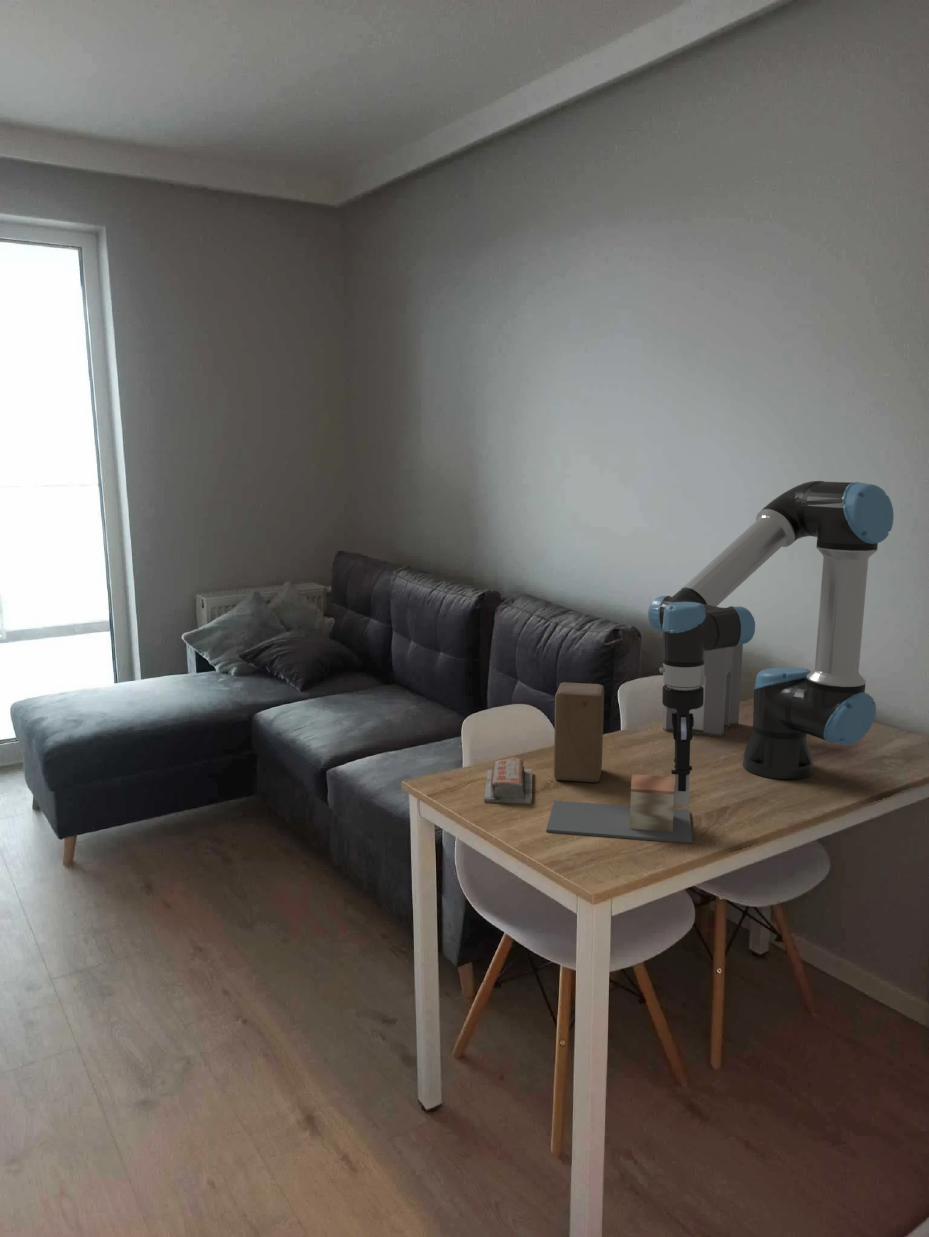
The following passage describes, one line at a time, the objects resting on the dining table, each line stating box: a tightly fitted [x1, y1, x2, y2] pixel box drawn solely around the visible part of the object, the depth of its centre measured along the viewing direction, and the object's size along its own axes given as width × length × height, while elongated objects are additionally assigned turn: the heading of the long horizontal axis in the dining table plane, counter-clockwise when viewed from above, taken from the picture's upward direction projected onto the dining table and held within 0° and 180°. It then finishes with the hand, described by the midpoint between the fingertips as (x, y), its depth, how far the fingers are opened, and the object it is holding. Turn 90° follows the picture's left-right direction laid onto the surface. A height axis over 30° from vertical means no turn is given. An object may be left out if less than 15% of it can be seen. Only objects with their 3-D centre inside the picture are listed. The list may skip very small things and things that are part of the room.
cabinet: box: [662, 644, 744, 738], centre depth 238 cm, size 21×10×28 cm, turn 106°
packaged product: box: [483, 756, 533, 805], centre depth 202 cm, size 18×5×10 cm
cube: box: [629, 773, 675, 832], centre depth 182 cm, size 8×8×8 cm
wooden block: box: [553, 681, 605, 783], centre depth 208 cm, size 10×10×20 cm
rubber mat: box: [545, 800, 693, 844], centre depth 184 cm, size 27×15×1 cm, turn 79°
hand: (681, 804), depth 181 cm, fingers closed
